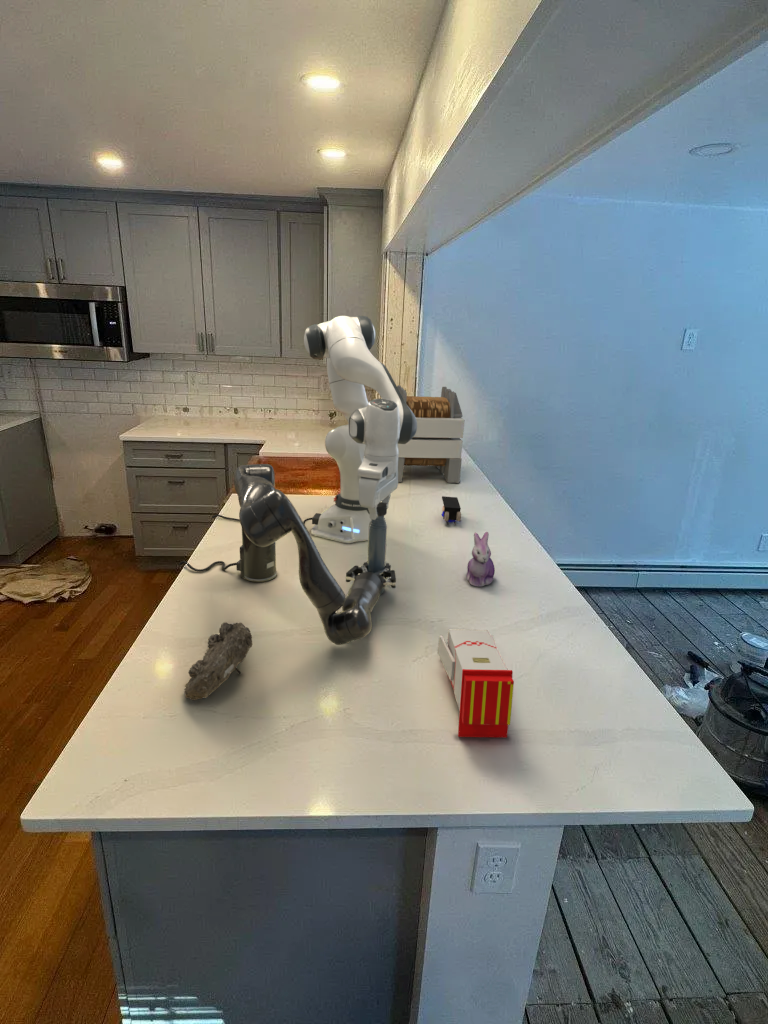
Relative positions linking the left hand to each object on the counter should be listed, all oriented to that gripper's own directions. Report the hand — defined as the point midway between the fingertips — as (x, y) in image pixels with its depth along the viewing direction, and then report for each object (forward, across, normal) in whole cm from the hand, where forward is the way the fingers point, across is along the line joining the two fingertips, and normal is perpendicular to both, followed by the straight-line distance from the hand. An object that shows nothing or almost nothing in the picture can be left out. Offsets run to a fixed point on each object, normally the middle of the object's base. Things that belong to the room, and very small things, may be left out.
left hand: (377, 565), depth 159 cm
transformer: (+122, +4, +7) cm, 122 cm away
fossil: (-48, +24, +7) cm, 54 cm away
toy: (-41, -28, +7) cm, 51 cm away
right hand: (-3, 0, -16) cm, 16 cm away
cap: (-3, 0, -19) cm, 19 cm away
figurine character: (+60, -16, +7) cm, 63 cm away
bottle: (-3, 0, +7) cm, 7 cm away
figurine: (+12, -29, +7) cm, 32 cm away
